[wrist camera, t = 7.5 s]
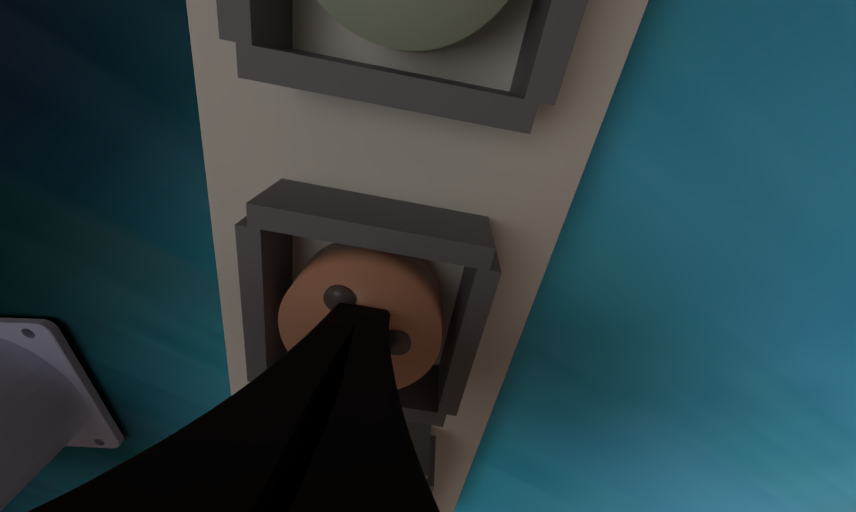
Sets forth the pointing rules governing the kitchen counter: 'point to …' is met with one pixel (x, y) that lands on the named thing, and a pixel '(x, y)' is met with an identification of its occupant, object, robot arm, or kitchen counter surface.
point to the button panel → (401, 176)
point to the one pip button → (413, 21)
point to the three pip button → (370, 302)
